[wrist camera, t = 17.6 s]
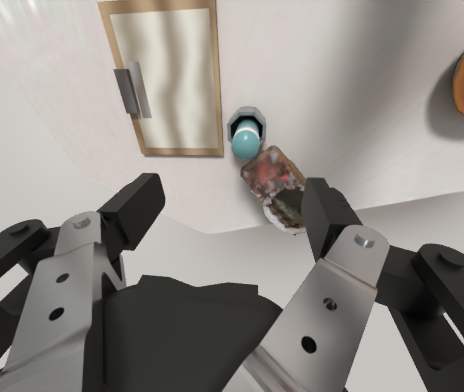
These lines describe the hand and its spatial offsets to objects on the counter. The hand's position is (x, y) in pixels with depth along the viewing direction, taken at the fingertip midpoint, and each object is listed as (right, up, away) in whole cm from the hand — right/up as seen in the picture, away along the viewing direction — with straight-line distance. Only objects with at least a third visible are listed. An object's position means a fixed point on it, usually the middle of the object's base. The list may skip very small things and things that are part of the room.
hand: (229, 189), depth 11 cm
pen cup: (+3, +13, +26) cm, 30 cm away
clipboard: (-11, +19, +25) cm, 33 cm away
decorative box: (+10, +3, +33) cm, 35 cm away
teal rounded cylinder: (+3, +13, +26) cm, 29 cm away
